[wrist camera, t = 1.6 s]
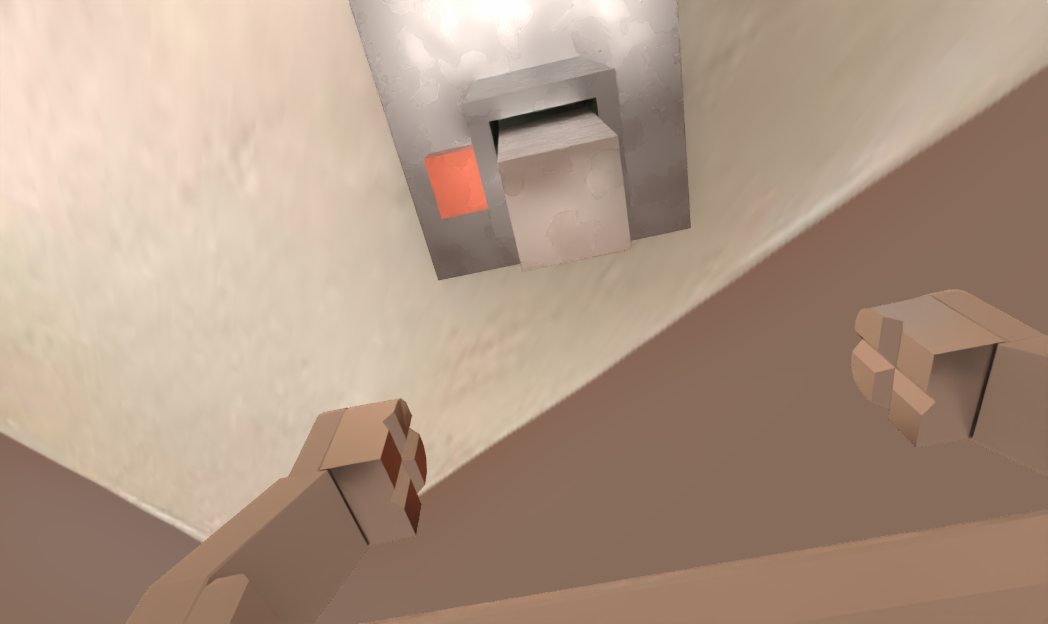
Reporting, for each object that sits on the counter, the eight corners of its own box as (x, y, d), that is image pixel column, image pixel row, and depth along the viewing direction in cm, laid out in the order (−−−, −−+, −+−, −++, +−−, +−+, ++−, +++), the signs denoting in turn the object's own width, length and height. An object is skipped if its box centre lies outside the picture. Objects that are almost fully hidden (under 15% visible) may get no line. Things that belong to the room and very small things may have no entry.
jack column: (565, 83, 33) (620, 131, 18) (576, 152, 35) (634, 250, 20) (498, 98, 34) (493, 160, 18) (513, 166, 36) (520, 274, 20)
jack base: (664, -86, 32) (765, -159, 20) (684, 221, 41) (761, 303, 29) (352, -8, 33) (262, -30, 21) (440, 272, 43) (414, 371, 30)
